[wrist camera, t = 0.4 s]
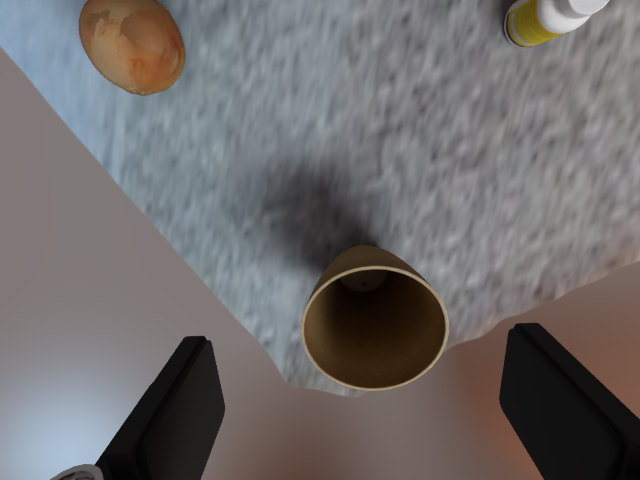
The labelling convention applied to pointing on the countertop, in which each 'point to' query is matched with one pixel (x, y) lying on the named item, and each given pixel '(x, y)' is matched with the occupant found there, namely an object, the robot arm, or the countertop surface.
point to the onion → (132, 44)
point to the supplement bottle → (546, 19)
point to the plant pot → (373, 321)
